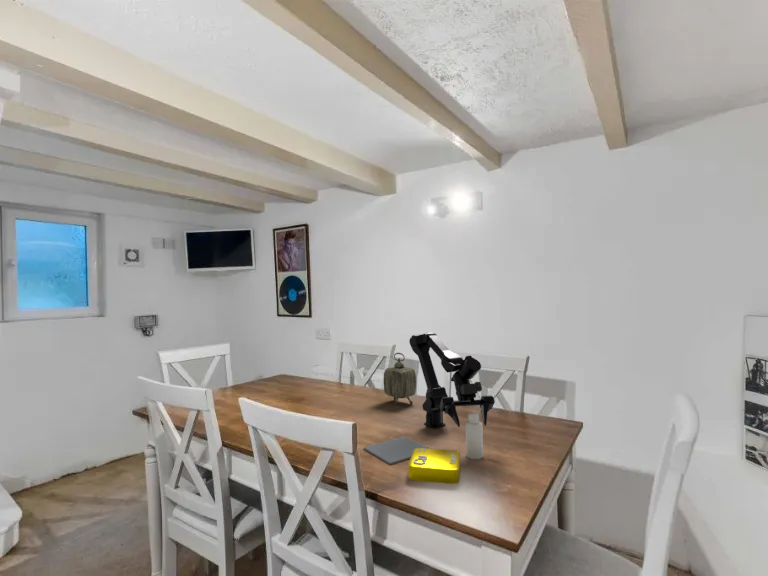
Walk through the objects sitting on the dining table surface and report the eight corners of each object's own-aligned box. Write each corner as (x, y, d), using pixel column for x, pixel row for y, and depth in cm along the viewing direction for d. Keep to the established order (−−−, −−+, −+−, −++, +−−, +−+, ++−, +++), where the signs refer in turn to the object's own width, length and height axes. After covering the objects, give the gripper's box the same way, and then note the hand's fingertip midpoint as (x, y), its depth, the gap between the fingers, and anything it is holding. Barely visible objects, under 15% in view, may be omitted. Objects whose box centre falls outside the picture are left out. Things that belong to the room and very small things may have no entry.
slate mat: (404, 437, 153) (404, 436, 153) (432, 451, 140) (432, 449, 140) (363, 448, 143) (363, 447, 143) (390, 464, 130) (390, 463, 130)
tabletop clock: (416, 404, 198) (415, 353, 198) (404, 408, 191) (403, 355, 191) (394, 399, 207) (393, 350, 208) (382, 402, 201) (381, 352, 201)
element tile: (458, 485, 116) (458, 469, 116) (407, 481, 120) (407, 464, 120) (460, 463, 131) (460, 449, 131) (414, 460, 134) (414, 445, 134)
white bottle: (473, 451, 140) (473, 410, 140) (486, 456, 135) (485, 414, 135) (462, 455, 137) (461, 413, 137) (474, 460, 132) (474, 417, 132)
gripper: (441, 374, 143) (449, 415, 132) (492, 372, 144) (504, 413, 133) (436, 391, 151) (444, 431, 140) (485, 389, 152) (496, 428, 141)
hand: (472, 425), depth 138 cm, fingers open, 9 cm apart
